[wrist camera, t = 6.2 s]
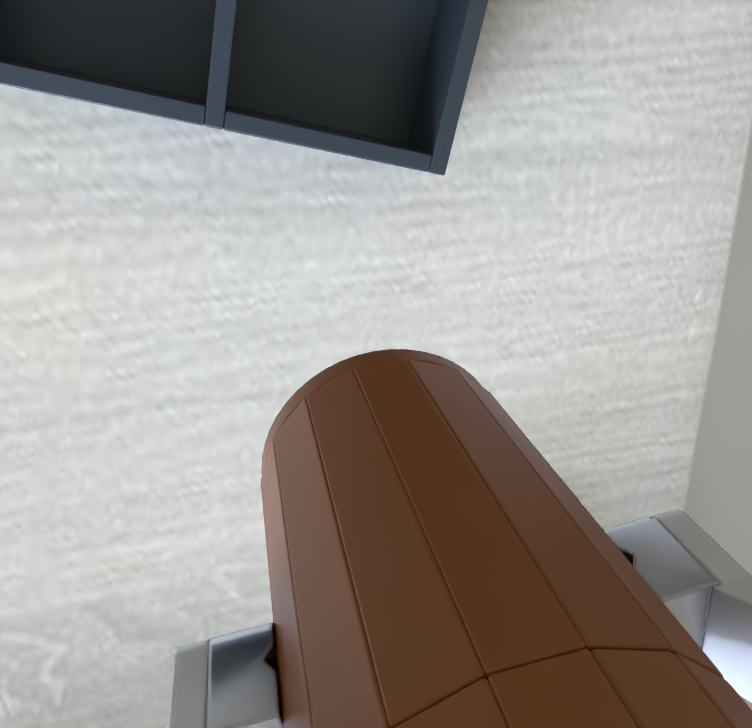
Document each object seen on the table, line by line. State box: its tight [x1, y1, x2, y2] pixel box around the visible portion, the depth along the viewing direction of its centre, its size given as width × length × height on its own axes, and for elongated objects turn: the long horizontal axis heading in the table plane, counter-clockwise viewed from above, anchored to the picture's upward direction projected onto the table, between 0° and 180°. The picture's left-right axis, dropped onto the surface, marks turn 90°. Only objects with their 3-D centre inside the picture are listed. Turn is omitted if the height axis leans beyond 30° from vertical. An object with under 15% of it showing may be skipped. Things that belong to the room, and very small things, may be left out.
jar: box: [261, 349, 752, 728], centre depth 9 cm, size 6×6×10 cm
